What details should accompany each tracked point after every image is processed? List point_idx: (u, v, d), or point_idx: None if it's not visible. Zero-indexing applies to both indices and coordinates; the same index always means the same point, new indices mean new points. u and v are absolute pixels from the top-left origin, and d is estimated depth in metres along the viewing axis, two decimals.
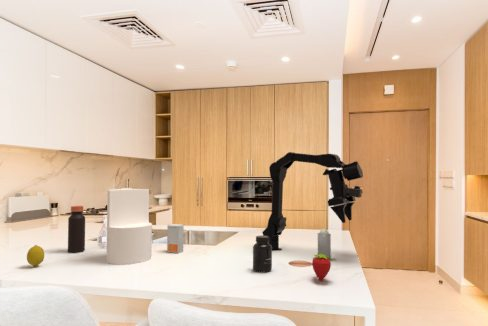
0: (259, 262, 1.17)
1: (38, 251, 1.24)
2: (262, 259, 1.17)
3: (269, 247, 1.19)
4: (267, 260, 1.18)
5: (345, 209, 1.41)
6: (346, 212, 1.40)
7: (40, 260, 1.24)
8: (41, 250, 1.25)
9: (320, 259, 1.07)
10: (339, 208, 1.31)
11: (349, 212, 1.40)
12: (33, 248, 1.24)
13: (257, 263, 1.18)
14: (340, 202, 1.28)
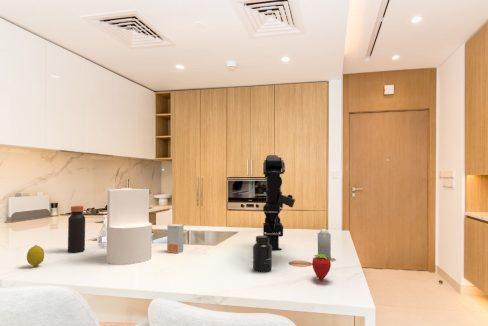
0: (259, 262, 1.17)
1: (38, 251, 1.24)
2: (262, 259, 1.17)
3: (269, 247, 1.19)
4: (267, 260, 1.18)
5: None
6: None
7: (40, 260, 1.24)
8: (41, 250, 1.25)
9: (320, 259, 1.07)
10: (272, 214, 1.29)
11: (275, 218, 1.39)
12: (33, 248, 1.24)
13: (257, 263, 1.18)
14: (276, 210, 1.25)
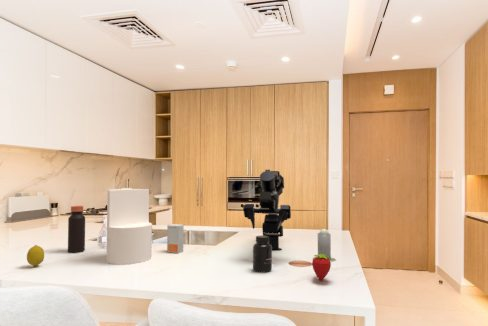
0: (259, 262, 1.17)
1: (38, 251, 1.24)
2: (262, 259, 1.17)
3: (269, 247, 1.19)
4: (267, 260, 1.18)
5: None
6: None
7: (40, 260, 1.24)
8: (41, 250, 1.25)
9: (320, 259, 1.07)
10: None
11: None
12: (33, 248, 1.24)
13: (257, 263, 1.18)
14: (243, 208, 1.35)
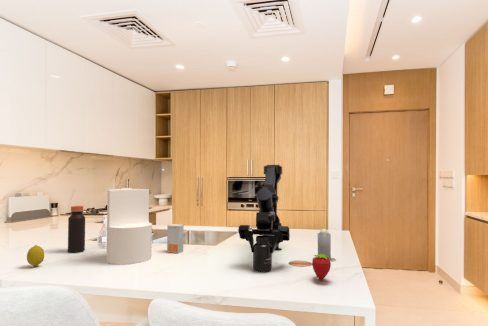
0: (259, 262, 1.17)
1: (38, 251, 1.24)
2: (262, 259, 1.17)
3: (269, 247, 1.19)
4: (267, 260, 1.18)
5: None
6: None
7: (40, 260, 1.24)
8: (41, 250, 1.25)
9: (320, 259, 1.07)
10: None
11: None
12: (33, 248, 1.24)
13: (257, 263, 1.18)
14: None
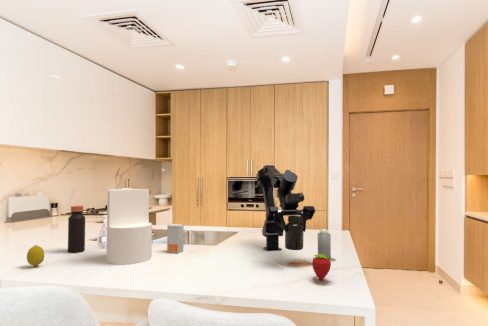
0: (296, 241, 1.23)
1: (38, 251, 1.24)
2: (298, 237, 1.23)
3: (302, 225, 1.25)
4: (302, 238, 1.24)
5: (301, 222, 1.29)
6: (302, 224, 1.28)
7: (40, 260, 1.24)
8: (41, 250, 1.25)
9: (320, 259, 1.07)
10: (280, 219, 1.28)
11: (302, 223, 1.27)
12: (33, 248, 1.24)
13: (293, 241, 1.23)
14: (268, 211, 1.27)
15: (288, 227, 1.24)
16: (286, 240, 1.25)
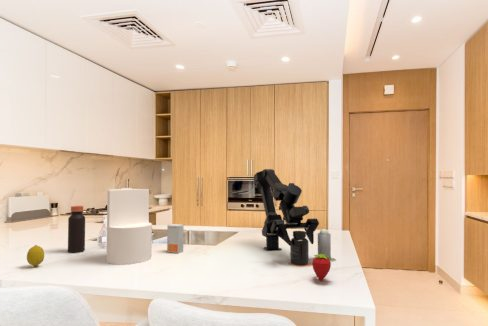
0: (302, 256, 1.24)
1: (38, 251, 1.24)
2: (304, 253, 1.24)
3: (307, 240, 1.27)
4: (307, 253, 1.26)
5: (308, 234, 1.31)
6: (309, 237, 1.30)
7: (40, 260, 1.24)
8: (41, 250, 1.25)
9: (320, 259, 1.07)
10: (283, 232, 1.28)
11: (310, 236, 1.29)
12: (33, 248, 1.24)
13: (300, 256, 1.24)
14: (274, 225, 1.28)
15: (294, 242, 1.25)
16: (292, 255, 1.26)
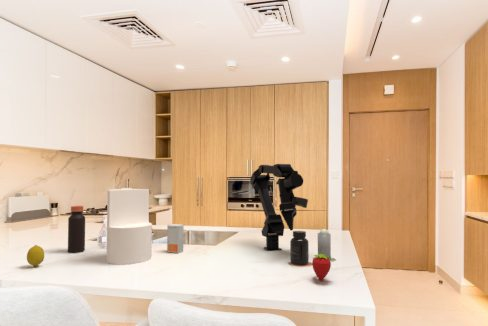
0: (302, 256, 1.24)
1: (38, 251, 1.24)
2: (304, 253, 1.24)
3: (307, 240, 1.27)
4: (307, 253, 1.26)
5: None
6: None
7: (40, 260, 1.24)
8: (41, 250, 1.25)
9: (320, 259, 1.07)
10: (288, 214, 1.35)
11: (291, 222, 1.44)
12: (33, 248, 1.24)
13: (300, 256, 1.24)
14: (292, 206, 1.31)
15: (294, 242, 1.25)
16: (292, 255, 1.26)
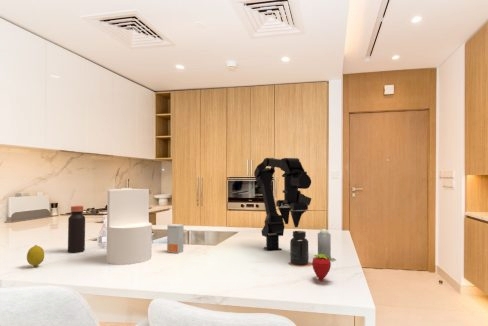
0: (302, 256, 1.24)
1: (38, 251, 1.24)
2: (304, 253, 1.24)
3: (307, 240, 1.27)
4: (307, 253, 1.26)
5: (284, 213, 1.44)
6: (285, 216, 1.44)
7: (40, 260, 1.24)
8: (41, 250, 1.25)
9: (320, 259, 1.07)
10: (297, 213, 1.34)
11: (287, 216, 1.44)
12: (33, 248, 1.24)
13: (300, 257, 1.24)
14: (306, 208, 1.32)
15: (294, 242, 1.25)
16: (292, 255, 1.26)
